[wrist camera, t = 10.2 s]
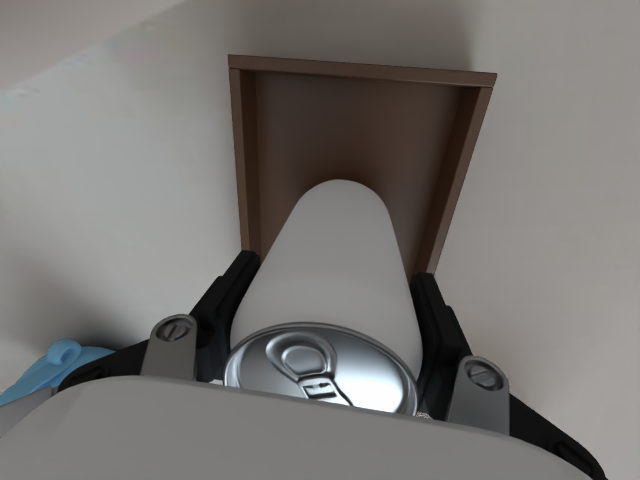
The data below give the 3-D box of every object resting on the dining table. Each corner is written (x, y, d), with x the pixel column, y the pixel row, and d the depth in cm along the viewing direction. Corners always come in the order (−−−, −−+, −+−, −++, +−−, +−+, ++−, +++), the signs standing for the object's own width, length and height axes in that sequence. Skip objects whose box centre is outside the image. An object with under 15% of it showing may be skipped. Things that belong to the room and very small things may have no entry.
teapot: (195, 431, 38) (127, 572, 27) (64, 414, 40) (-50, 536, 29) (156, 323, 29) (28, 466, 18) (-12, 307, 31) (-220, 426, 20)
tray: (249, 61, 17) (227, 54, 14) (473, 77, 16) (498, 73, 13) (259, 296, 25) (246, 322, 23) (405, 316, 24) (411, 345, 22)
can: (373, 161, 16) (401, 282, 6) (401, 252, 19) (457, 453, 8) (276, 197, 18) (162, 339, 8) (314, 276, 21) (268, 466, 10)
